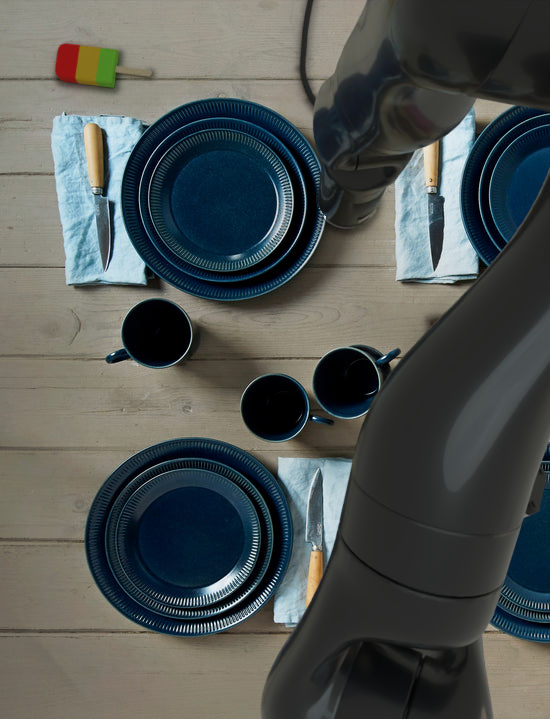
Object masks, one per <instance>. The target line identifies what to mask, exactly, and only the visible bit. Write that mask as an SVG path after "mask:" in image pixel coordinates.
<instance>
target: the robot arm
mask: <svg viewBox="0 0 550 719" xmlns="http://www.w3.org/2000/svg"><path fill="white" fill-rule="evenodd" d="M365 1H366V2H365V4H364V7H363V9H362V11H361V13H360V15H359V17H358V20H357V21H356V23H355V25H354V27H353V29H351V30H352V31H351V32H350V34H349V36H348V38H347V40H346V41H345V44H344V45H343V48H342V51H341V53H340V56H339V58H338V61H337V64H336V66H335V70H334V73H333V74H331V75H330V76H329V77H328V78H327V79H326V80H324V82H322V84H321V86H320V87H319V89H318V91H317V94H316V96H315V94H314V93H313V91H312V89H311V86H310V84H309V81H308V80H309V79H308V77H307V69H306V68H307V66H306V62H307V50H308V48H307V47H308V35H309V27H310V20H311V14H312V10H313V9H312V8H313V5H314V4H313V3H314V0H307V1H306V2H307V3H306V7H305V12H304V16H303V17H304V18H303V24H302V31H301V44H300V57H299V75H300V80H301V84H302V87H303V89H304V92H305V94H306V97H307V98H308V100H309V101H310V103H311V104H312V106H313V112H312V134H313V140H314V145H315V148H316V151H317V153H318V156H319V158H320V159H321V165H320V166H321V167H320V173H319V174H320V175H319V183H318V188H317V192H318V204H319V207H320V210H321V211H322V213H323V214H324V215H325V216H326V221H325V222H326V223H327V224H329V225H330V226H332V227H333V228H336V229H339V230H345V231H346V230H354V229H357V228H360V227H362V226H364V225H365V224H366V223H367V222H369V221H370V219H372V217H373V216H374V214H376V213H377V212H378V210H379V209H378V208H377V207H378V205H379V203H380V201H381V199H382V197H383V196H384V194H385V191H386V190H387V188H388V187H390V186H392V185H393V184H394V183H395V182H396V181H397V179H398V178H399V177H400V175H402V173H403V172H404V170H405V169H406V168H407V167H408V165H409V164H410V162H411V161H412V158H413V156H414V155H415V153H416V151H418V150H421V149H423V148H426V147H429V146H431V145H433V144H435V143H437V142H438V141H440V140H442V139H443V138H445V137H447V136H448V135H449V134H451V132H453V131H455V129H456V128H457V127H459V125H460V124H461V123H462V122H463V121H464V119H465V118H466V117H467V116H468V114H469V113H470V112H471V110H472V108H473V106H474V104H475V103H476V101H477V99H479V100H483V101H490V102H494V103H499V104H506V105H510V106H511V105H512V106H517V107H522V108H526V109H533V110H538V111H544V112H546V113H550V0H365ZM316 206H317V208H318V205H317V204H316ZM438 318H439V319H438V320H437V321H436V322H435V323H434V324H433V325H432V326H431V325H430V327H429V328H428V329H427V330H426V331H425V333H423V334H422V335H421V337H420V338H419V339H418V340H417V341H416V342H415V343H414V344H413V345H412V346H411V347H410V349H409V350H408V351H406V353H405V354H403V356H402V357H401V358H400V360H399V361H398V362H397V363H396V365H395V366H394V367H393V369H391V371H390V372H389V374H388V375H387V376H386V378H385V380H384V381H383V383H381V386H380V387H379V389H378V391H377V393H376V394H375V396H374V398H373V400H372V402H371V404H370V405H369V407H368V410H367V412H366V414H365V417H364V419H363V421H362V424H361V427H360V429H359V433H358V437H357V440H356V443H355V447H354V452H353V455H352V461H351V464H350V471H349V474H348V479H347V483H346V488H345V492H344V493H345V494H344V497H343V502H342V506H341V512H340V516H339V521H338V525H337V530H336V532H335V533H336V534H335V538H334V541H333V545H332V549H331V552H330V555H329V557H328V560H327V563H326V566H325V567H324V571H323V573H322V576H321V578H320V581H319V583H318V585H317V587H316V589H315V591H314V593H313V595H312V596H311V599H310V601H309V603H308V605H307V606H306V608H305V610H304V612H303V614H302V615H301V617H300V618H299V620H298V621H297V623H296V624H295V626H294V628H293V629H292V631H291V633H290V634H289V636H288V637H287V639H286V641H285V642H284V644H283V645H282V647H281V648H280V650H279V652H278V654H277V656H276V657H275V660H274V662H273V664H272V665H271V667H270V669H269V671H268V674H267V676H266V679H265V682H264V684H263V688H262V693H261V698H260V699H261V700H260V719H495V717H494V710H493V704H492V698H491V690H490V685H489V678H488V674H487V667H486V666H487V665H486V659H485V651H484V643H483V642H484V639H483V634H484V633H485V631H486V630H487V629H488V627H489V625H490V622H491V621H492V618H493V616H494V615H495V612H496V609H497V606H498V604H499V600H500V596H501V593H502V590H503V586H504V584H505V579H506V577H507V573H508V571H509V567H510V564H511V560H512V557H513V555H514V551H515V547H516V545H517V541H518V538H519V535H520V531H521V527H522V524H523V521H524V519H526V518H527V517H530V516H532V515H534V514H537V513H539V512H540V509H541V504H542V499H543V496H544V492H545V491H544V490H545V486H546V482H547V477H548V476H547V473H546V471H545V469H544V468H543V467H542V466H541V465H542V462H543V460H544V456H545V453H546V450H547V447H548V445H549V442H550V166H549V168H548V170H547V172H546V176H545V179H544V181H543V183H542V185H541V187H540V188H539V191H538V194H537V195H536V197H535V199H534V202H532V205H531V207H530V208H529V210H528V211H527V213H526V215H525V217H524V219H523V220H522V222H521V223H520V225H519V226H518V228H517V229H516V231H515V232H514V233H513V235H512V237H510V239H509V240H508V242H507V243H506V245H505V246H504V247H503V248H502V249H501V251H500V252H499V253H498V254H497V255H496V256H495V257H494V259H493V260H492V261H491V263H490V264H489V265H488V267H487V268H486V269H485V270H484V271H483V272H482V273H481V274H480V276H478V277H477V279H475V281H474V282H473V283H472V284H471V285H470V286H469V287H468V288H467V289H466V290H465V291H464V292H463V294H462V295H461V296H460V297H458V299H457V300H456V301H455V302H454V303H453V304H452V305H451V306H450V307H449V308H448V309H447V310H446V311H445V312H444V313H443V314H442V315H441V316H440V317H438Z"/></svg>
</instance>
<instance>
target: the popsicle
mask: <svg viewBox="0 0 550 719" xmlns="http://www.w3.org/2000/svg"><path fill="white" fill-rule="evenodd" d="M119 56H120V53H119V50H118V49H114V48H107V47H98V46H91V45H90V46H89V45H83V44H75V43H74V44H73V43H66V42H65V43H61V44H60V45H59V46H58V48H57V52H56V58H55V65H54V66H55V67H54V73H55V75H56V76H57V78H58V79H59V80H60V81H62V82H66V83H73V84H80V85H88V86H95V87H96V86H97V87H104V88H112V89H113V88H115V84H116V78H117V74H123V75H130V76H138V77H146V78H150V77H152V74H153V72H152V70H151V69H146V68H137V67H128V66H122V65H118V63H119Z"/></svg>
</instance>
